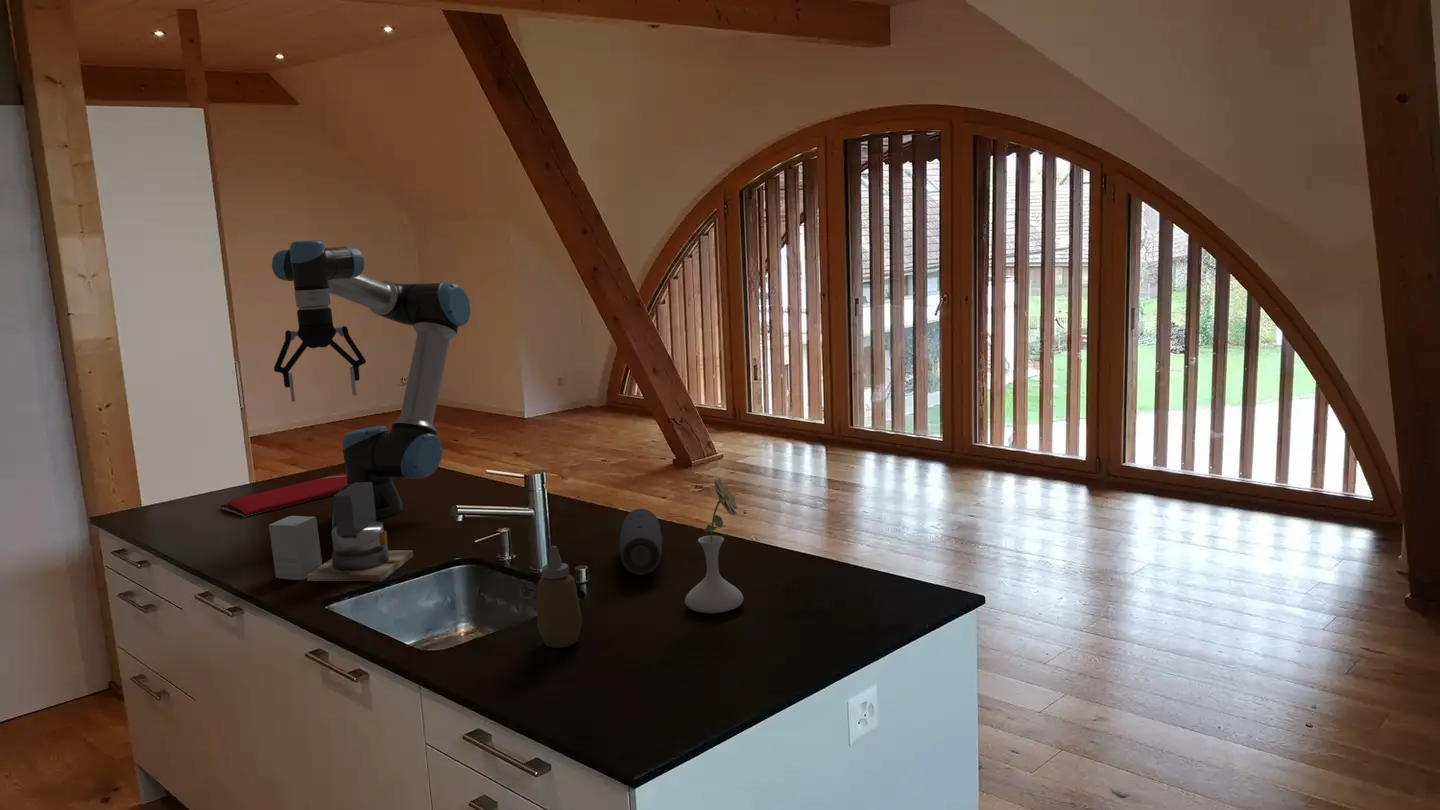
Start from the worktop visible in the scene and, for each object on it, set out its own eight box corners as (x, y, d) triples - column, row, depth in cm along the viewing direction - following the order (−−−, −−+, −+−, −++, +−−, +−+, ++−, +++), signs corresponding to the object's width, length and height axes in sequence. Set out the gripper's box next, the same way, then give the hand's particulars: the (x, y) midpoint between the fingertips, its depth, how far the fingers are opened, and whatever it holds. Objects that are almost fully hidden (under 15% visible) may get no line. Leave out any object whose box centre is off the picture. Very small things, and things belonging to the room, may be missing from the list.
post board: (344, 556, 250) (342, 538, 249) (413, 556, 248) (411, 537, 247) (307, 581, 234) (305, 562, 233) (381, 581, 231) (378, 561, 230)
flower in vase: (724, 622, 198) (717, 492, 194) (673, 613, 204) (666, 486, 200) (759, 599, 209) (753, 476, 205) (710, 591, 215) (703, 471, 211)
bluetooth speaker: (664, 579, 224) (662, 533, 222) (620, 582, 223) (617, 536, 222) (662, 546, 246) (660, 504, 245) (622, 549, 246) (619, 507, 244)
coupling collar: (324, 558, 234) (317, 496, 232) (346, 541, 246) (340, 482, 244) (376, 556, 234) (370, 495, 231) (396, 540, 245) (390, 481, 243)
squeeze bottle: (540, 635, 196) (532, 541, 193) (584, 632, 197) (577, 538, 194) (536, 653, 188) (528, 555, 185) (582, 649, 189) (575, 552, 186)
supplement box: (324, 570, 241) (317, 516, 239) (301, 581, 234) (294, 525, 232) (297, 568, 244) (291, 514, 241) (274, 578, 237) (267, 524, 234)
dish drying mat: (219, 511, 300) (218, 498, 299) (353, 480, 330) (351, 468, 329) (245, 520, 290) (243, 506, 289) (380, 487, 320) (379, 474, 319)
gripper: (255, 313, 240) (267, 405, 244) (371, 304, 249) (380, 394, 253) (256, 310, 247) (267, 401, 250) (368, 302, 256) (377, 389, 260)
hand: (324, 397), depth 252 cm, fingers open, 13 cm apart
